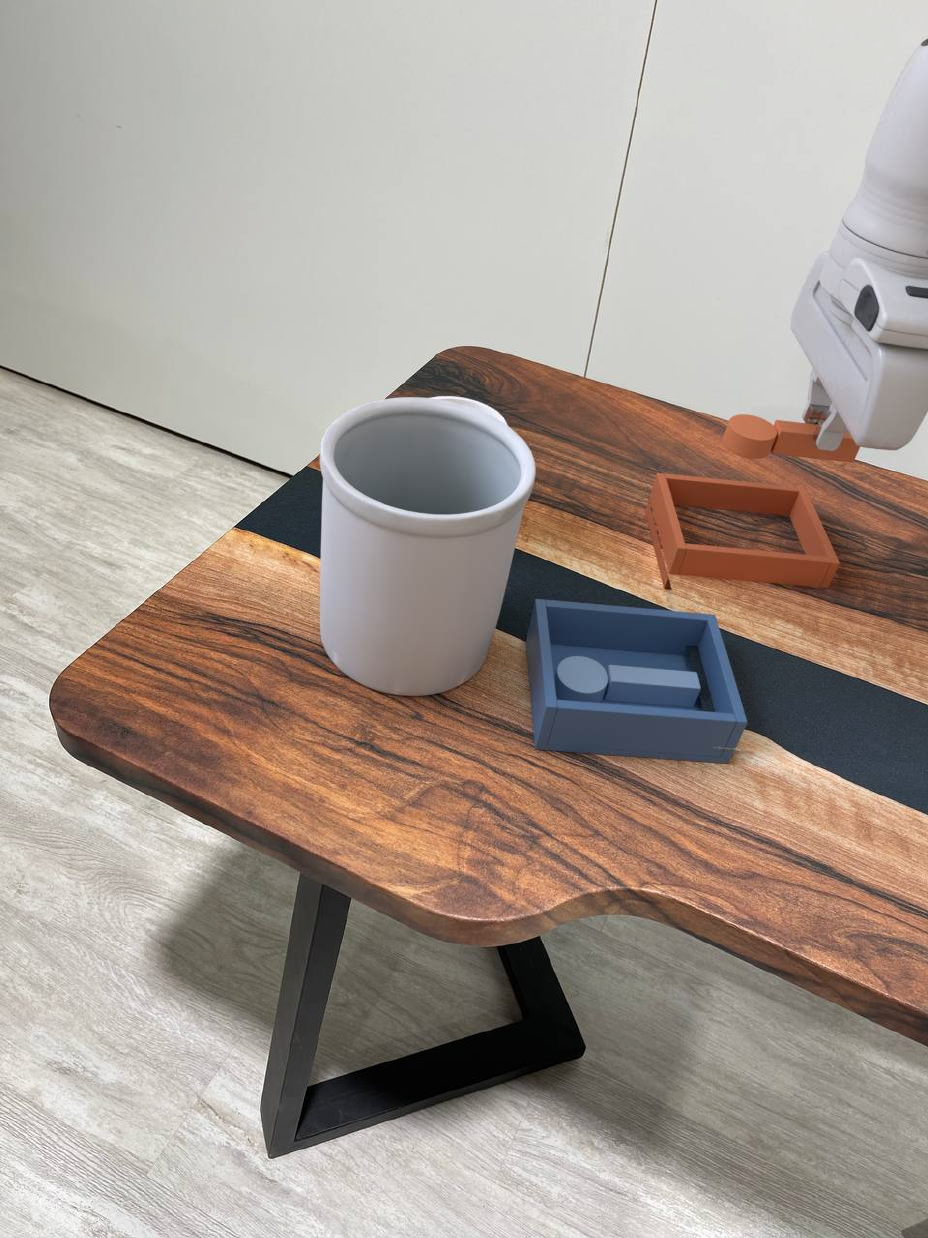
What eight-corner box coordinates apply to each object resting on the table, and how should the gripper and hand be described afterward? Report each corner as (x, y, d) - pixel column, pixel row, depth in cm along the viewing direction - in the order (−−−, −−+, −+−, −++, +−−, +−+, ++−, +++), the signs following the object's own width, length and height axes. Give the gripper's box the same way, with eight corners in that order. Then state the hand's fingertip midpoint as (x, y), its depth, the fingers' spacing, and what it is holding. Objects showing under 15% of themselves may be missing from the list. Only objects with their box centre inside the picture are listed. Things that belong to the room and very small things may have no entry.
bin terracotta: (788, 525, 100) (805, 487, 97) (821, 602, 91) (840, 563, 88) (644, 511, 99) (656, 472, 96) (664, 588, 90) (677, 547, 87)
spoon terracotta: (843, 444, 86) (853, 421, 85) (857, 470, 83) (867, 447, 82) (717, 430, 85) (725, 407, 84) (727, 456, 82) (736, 432, 81)
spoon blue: (686, 681, 80) (694, 661, 79) (695, 718, 78) (704, 699, 76) (550, 670, 79) (555, 649, 78) (554, 707, 76) (560, 686, 75)
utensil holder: (517, 699, 77) (561, 514, 66) (322, 711, 74) (332, 517, 62) (477, 575, 88) (509, 397, 76) (304, 580, 85) (310, 394, 73)
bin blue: (699, 655, 84) (715, 614, 81) (728, 764, 75) (747, 722, 72) (525, 640, 83) (535, 598, 79) (534, 749, 74) (546, 706, 71)
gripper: (807, 214, 81) (752, 369, 91) (891, 331, 66) (815, 503, 75) (881, 224, 82) (819, 377, 91) (982, 341, 67) (895, 511, 76)
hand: (818, 435), depth 83 cm, fingers closed on spoon terracotta, 2 cm apart
